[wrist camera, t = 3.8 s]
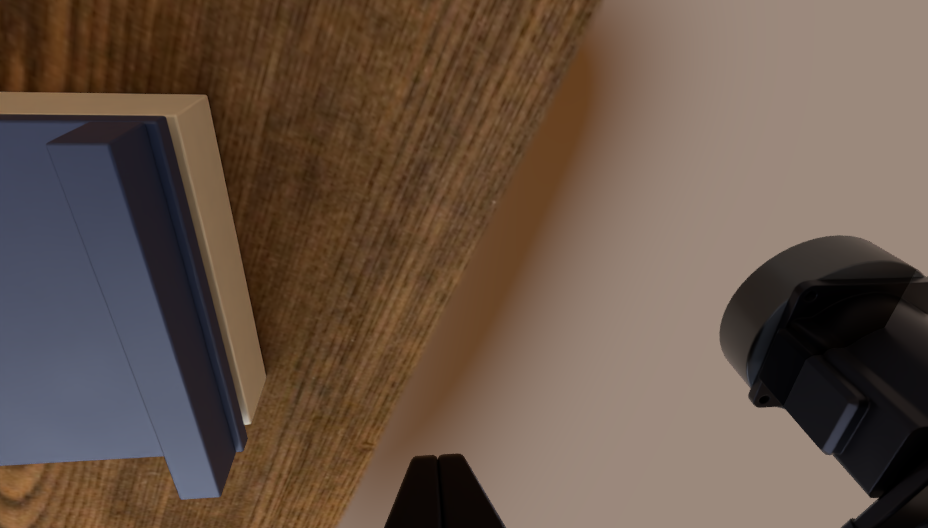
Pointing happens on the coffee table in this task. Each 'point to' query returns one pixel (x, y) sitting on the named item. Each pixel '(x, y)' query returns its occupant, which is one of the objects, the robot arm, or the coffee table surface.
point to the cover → (108, 304)
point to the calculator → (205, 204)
